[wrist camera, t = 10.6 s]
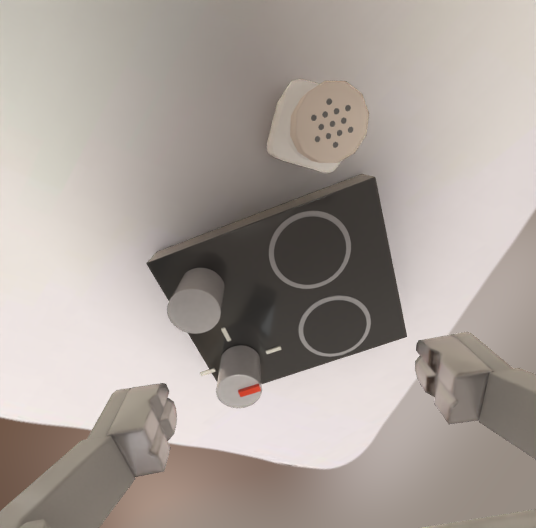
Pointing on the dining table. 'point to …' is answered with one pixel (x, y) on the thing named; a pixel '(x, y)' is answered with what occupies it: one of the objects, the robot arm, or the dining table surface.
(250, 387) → the hob knob
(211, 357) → the hob
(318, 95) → the pepper shaker
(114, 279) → the dining table surface
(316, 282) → the hob zones
